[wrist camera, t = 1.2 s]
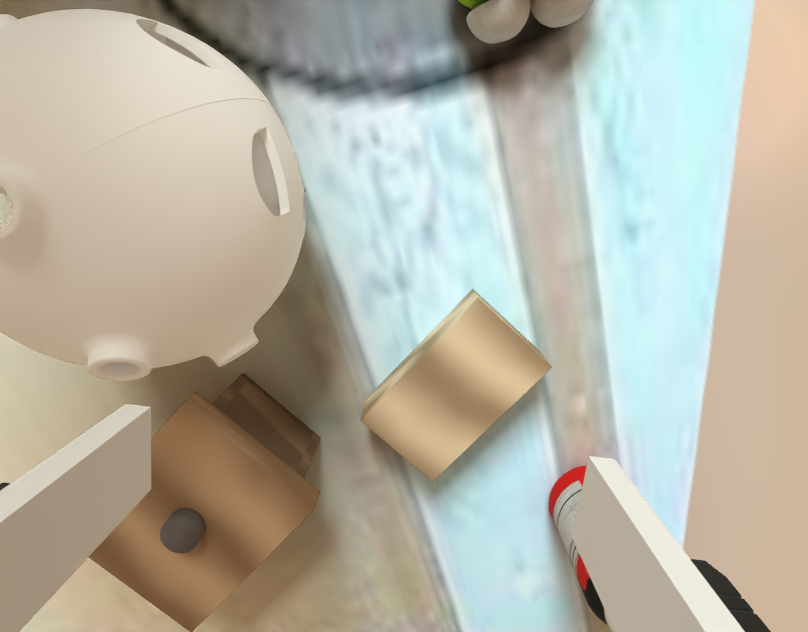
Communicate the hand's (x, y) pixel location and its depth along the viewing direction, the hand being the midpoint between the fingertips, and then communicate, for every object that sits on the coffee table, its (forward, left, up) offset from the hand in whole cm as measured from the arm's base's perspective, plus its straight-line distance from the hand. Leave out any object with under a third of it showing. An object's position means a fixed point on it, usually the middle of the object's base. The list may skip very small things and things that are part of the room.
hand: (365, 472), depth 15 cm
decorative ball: (-15, -3, -24) cm, 29 cm away
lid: (-1, -18, -17) cm, 25 cm away
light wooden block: (+7, -1, -24) cm, 25 cm away
